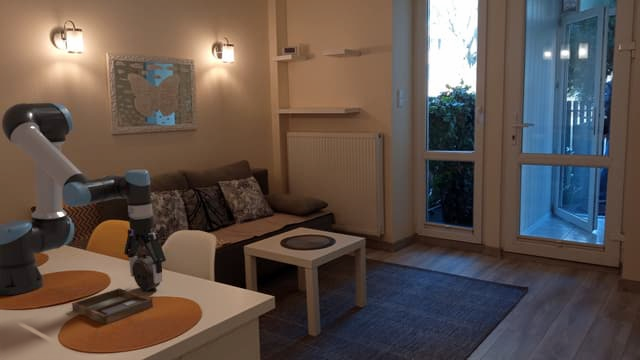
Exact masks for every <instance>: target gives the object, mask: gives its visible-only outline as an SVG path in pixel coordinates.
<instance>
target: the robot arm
mask: <svg viewBox="0 0 640 360" xmlns="http://www.w3.org/2000/svg"><path fill="white" fill-rule="evenodd" d="M73 127H74V122H73V118H72V115H71V113H70V111H69V110H68V109H67V108H66V107H65V106H64V105H62V104H60V103H51V102H36V103H25V102H24V103H23V102H21V103H16V104H14V105H12V106H10V107H9V108H8V109H6V111H5V112H4V114H3V116H2V119H1V128H2V131H3V133H4V135H5V137H6V138H7V139H8V141H10V143H12V145H14V146H16V147H20V148H21V149H22V150H23V151H24V152H25V153H26V154H27V155H29V157H30V158H31V159H32V160H33V161H34V182H35V183H34V185H35V190H34V191H35V211H33V212H32V213H31V215H30V216H31V220H29V219H17V220H11V221H9V222H4V223H2V224H0V296H13V295H20V294H24V293H29V292H32V291H35V290H38V289H39V288H41V287H43V286H44V277H43V275H42V273H41V271H40V269H39V267H38V265H37V262H36V255H37V254H40V253H44V252H48V251H50V250H51V251H52V250H56V249H60V248H61V247H64V246H66V245H68V244H70V242H71V241H72V239H73V238H74V234H75V225H74V223H73V219H71V217H70V216H68V214H67V211H65V209H63V202H64V203H65V204H66V205H67V206H69V207H73V208H74V207H84V206H87V205H91V204H95V203H100V202H101V203H102V202H106V201H110V200H111V201H112V200H114V199H127V200H126V202H127V212H128V217H129V219H128V222H129V229H127V239H126V243H125V247H124V252H123V253H124V255H125V256H126V255H127V257H128V260H129V261H128V262H129V272H130V277H133V278H134V276H133V264H134V262H135V261H136V260H137V259H139V258H138V256H137V255H138V251H139V249H140V248H141V246H142V245H143V247H144V248H145V249H146V248H147V253H148V254H149V256H151V258H152V260H153V262H154V263H153V275H154V283H155V284H156V283H159V282H160V283H162V282H163V267H162V266H163V265H162V263H164V262H166V259H167V258H166V256H165V253H164V251H163V248H162V245H161V242H160V239H159V233H158V232H157V231H156V232H152V228H154V223H155V222H154V217H153V215H154V211H153V201H152V190H151V178H150V173H149V171H148V170H147V169H132V170H131V169H130V170H127V171H125V172H124V175H115V174H109V175H102V176H101V177H100V178H93V179H89V178H88V177H87V176H86V175H85V174H84V173H83V172H82V171H81V170H80V169H78V168H77V166H75V165H74V164H73V162H71V161H70V160H69V159H68V158H67V157H66V156H65V155H64V153H62V145H63V144H65V142H66V136H68V135H70V133H71V132H72V130H73Z"/></svg>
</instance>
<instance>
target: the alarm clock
mask: <svg viewBox="0 0 640 360" xmlns="http://www.w3.org/2000/svg"><path fill="white" fill-rule="evenodd" d="M143 247H144V246H143V245H140V252H141V254H142V255H143V256H142V257H140V258H138V259H137V260H136V261H135V262H134V264H133V279H134V281H135V283H136V285H137V286H138V287H139V288H140V289H141V290H140V291H141V292H143V291H150V290H154V292H157V291H158V290H157V287H159V286H160V284H161V282H159V283H156V284H155V283H154V275H153V263H154V262H153V260H152V258H151V256H150V255H148V250H147V248H145V250H146V251H145V252H143V250H142V249H143Z"/></svg>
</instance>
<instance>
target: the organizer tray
mask: <svg viewBox="0 0 640 360" xmlns="http://www.w3.org/2000/svg"><path fill="white" fill-rule="evenodd" d="M134 299H135V300H138V301H141V303H138V304H135V305H132V306H129V307H126V308H123V309H121V310H118V311H115V312H112V313H109V314H106V315H104V314H102V313H101V311H102V310H105V309H108V308H111V307H114V306H117V305H119V304H122V303H125V302H128V301H131V300H134ZM71 306H72V311H73V312H74V313H77V314H79V315H81V316H84V317H87V318H89V319H91V320H93V321H95V322H97V323H100V324H103V325H108V324H110V323H114V322H115V321H116V322H117V321H118V320H121V319H125V318H126V317H130V316H133V315H135V314H138V313H141V312H143V311H146V310H149V309H152V308H154V304H153V299H152V298H149V297H145V296H143V295H140V294H137V293H135V292H131V291H128V290H126V289H122V288H121V287H119V288H116V289H113V290H109V291H105V292H103V293H100V294H97V295H94V296H91V297H87V298H83V299H81V300H77V301H75V302H72V303H71Z"/></svg>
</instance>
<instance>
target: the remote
mask: <svg viewBox="0 0 640 360" xmlns="http://www.w3.org/2000/svg"><path fill="white" fill-rule="evenodd" d="M138 303H141V301H138V300H135V299H134V300H131V301H128V302H125V303H122V304H119V305H117V306H114V307H111V308H108V309H105V310H102V311H101V313H102V314H104V315H106V314H109V313H112V312H115V311H118V310H121V309H123V308H126V307H129V306H132V305H135V304H138Z"/></svg>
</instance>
